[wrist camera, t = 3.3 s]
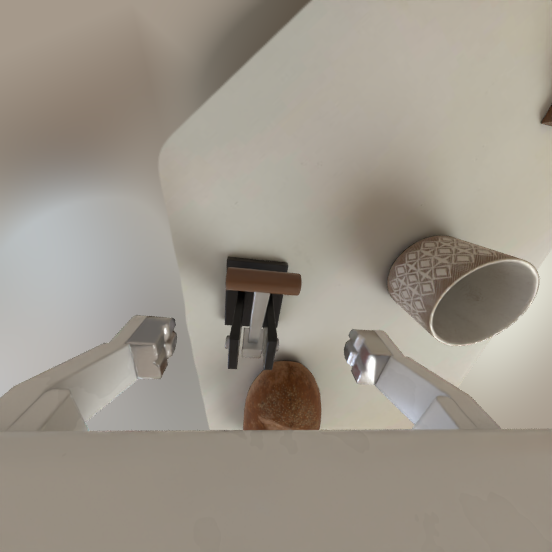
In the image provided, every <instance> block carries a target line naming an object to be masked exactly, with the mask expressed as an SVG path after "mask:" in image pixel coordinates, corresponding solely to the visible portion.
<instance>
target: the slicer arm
mask: <svg viewBox="0 0 552 552" xmlns="http://www.w3.org/2000/svg"><path fill="white" fill-rule="evenodd" d="M226 289H227V290H235V291H247V292H254V298H253V305H252V313H251V321H250V328H244V336H243V347H242V357H251V358H260V357H261V354H262V351H263V331H264V330H263V329H262V325H263V321H264V317H265V312H266V308H267V304H268V300H269V296H270V293H272V294H284V295H296V296H297V295H299V293H300V290H301V275H300V274H297V273H286V272H276V271H266V270H255V269H245V268H234V267H228V269H227V274H226Z"/></svg>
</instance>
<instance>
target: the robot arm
mask: <svg viewBox="0 0 552 552" xmlns="http://www.w3.org/2000/svg"><path fill="white" fill-rule="evenodd" d="M175 326H176V324H175V319H174V318H167V317H155V316H140V315H136V316H133V317H132V318H131V319H130V320H129V322H128V323H127V324H126V325H125V326H124V327H123V328H122V329H121V330H120V331H119V332H118V333H117V335H116V336H115V337H114V338H113V339H112V340H111V341H110V342H109V343H103V344H101V345H99V346H97V347H95V348H93V349H91V350H89V351H86V352H84V353H82V354H80V355H78V356H76V357H74V358H72V359H70V360H68V361H66V362H64V363H62V364H59V365H57V366H55V367H53V368H51V369H49V370H47V371H45V372H43V373H41V374H39V375H37V376H34V377H32V378H30V379H29V380H26V381H24V382H22V383H20V384H18V385H16V386H14V387H13V388H11V389H10V390H9V391H8V392H7V393H5V394H4V395H3V396H2V397H1V398H0V552H552V429H501V428H500V426H498V425H497V423H496V422H495V421H494V420H493V419H492V418H491V417H490V416H489V415H488V414H487V413H486V412H485V411H484V410H483V409H482V408H481V407H480V406H479V405H478V404H477V402H476V401H475V400H474V399H473V398H472V397H470V396H469V395H468V394H466V393H465V392H463V391H462V390H460V389H459V388H457V387H455V386H454V385H452V384H451V383H449V382H447V381H446V380H444V379H443V378H441V377H439V376H438V375H436V374H435V373H433V372H431V371H430V370H428V369H427V368H425V367H423V366H422V365H420V364H419V363H417V362H416V361H414V360H412V359H411V358H409V357H405V356H404V355H403V354H402V352H401V351H400V350H399V349H398V347H397V346H396V345H395V344H394V343H393V341H392V340H391V339H390V338H389V336H388V335H387V334H386V333H385V332H384V331H382V330H356V329H352V330H351V331H350V334H349V337H350V340H349V341H347V342H346V344H345V347H344V355H345V359H346V361H347V363H348V364H349V365H351V366H352V370H351V372H352V374H353V376H354V378H355V380H356V382H357V384H368V385H375V386H376V387H377V388H378V389H379V390H380V391H381V392H382V393H383V394H384V395H385V396H386V397H387V398H388V399H389V400H390V401H391V402H392V403H393V404H394V405H395V406H396V407H397V408H398V409H399V410H400V411H401V412H402V413H403V414H404V415H405V416H406V417H407V418H408V419H409V420H410V421H411V422H412V423H413V424H414V426H413V428H412V429H384V430H202V431H200V430H199V431H198V430H197V431H196V430H193V431H89V429H88V427H87V425H86V423H85V422H87V421H88V420H89V419H90V418H92V417H93V416H94V415H95V414H97V413H98V412H99V411H100V410H101V409H102V408H104V407H105V406H106V405H107V404H109V403H110V402H111V401H112V400H114V399H115V398H116V397H117V396H118V395H120V394H121V393H122V392H123V391H125V390H126V389H127V388H128V387H129V386H131V385H132V384H133V383H134V382H136V381H137V379H160V378H161V377H162V375H163V373H164V371H165V369H166V367H167V365H168V364H167V359H168V358H169V357H171V356H172V355H173V352H174V350H175V347H176V343H177V334H176V333H175V332H174V327H175Z"/></svg>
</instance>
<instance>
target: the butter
mask: <svg viewBox="0 0 552 552" xmlns="http://www.w3.org/2000/svg"><path fill="white" fill-rule="evenodd" d="M541 124H545V125H550V126H552V105H551V107H550V109H549V110H548V112H547V114H546V115H545V117H544V119H543V121H542V122H541Z"/></svg>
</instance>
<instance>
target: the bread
mask: <svg viewBox="0 0 552 552" xmlns="http://www.w3.org/2000/svg"><path fill="white" fill-rule="evenodd" d="M320 422H321V400H320V392H319V388H318V386H317V383H316V381H315V378H314V376H313V375H312V373H311V372H310V371H309V370H308V369H307V368H306V367H305V366H303V365H302V364H301V363H297V362H292V361H277V362H274V363H273V368H272V370H263V371H262V372H261V373H260V374H259V375H258V376H257V378H256V379H255V380H254V382H253V383H252V385H251V387H250V389H249V392H248V395H247V398H246V403H245V410H244V423H243V430H319V428H320Z"/></svg>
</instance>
